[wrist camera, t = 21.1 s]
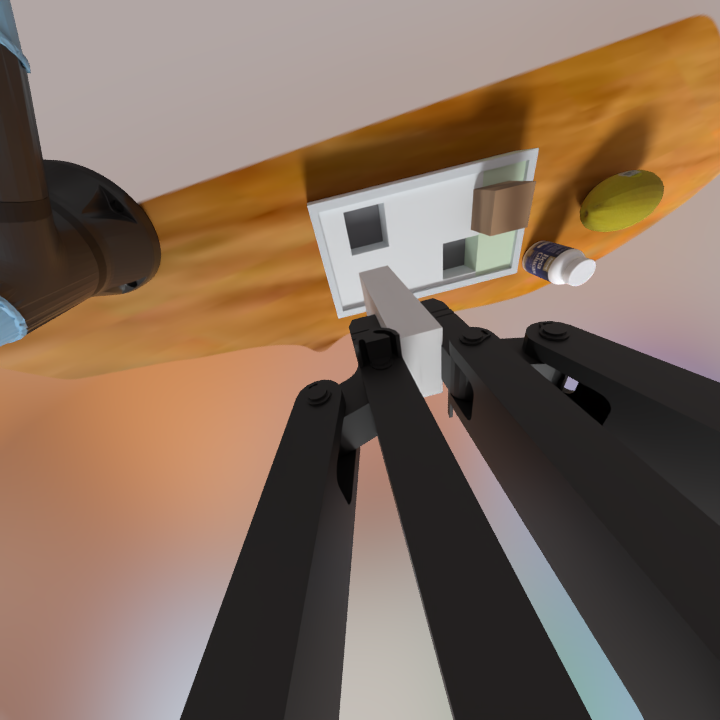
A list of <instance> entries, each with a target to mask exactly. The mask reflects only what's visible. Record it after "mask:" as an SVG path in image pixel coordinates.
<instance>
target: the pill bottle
mask: <svg viewBox="0 0 720 720" xmlns="http://www.w3.org/2000/svg"><path fill="white" fill-rule="evenodd" d="M522 265H523V268H524V270H525V271H527V272H529V273H531V274H534V275H536V276H538V277H540V278H543V279H545V280H547V281H549V282H552V283H554V284H565V283H567V284H569V285H571V286H578V285H581V284H583V283H585V282H586V281H587V280H588V279H589V278H590V277H591V276H592V274H593V273H594V271H595V268H596V263H595V261H594V260H592V259H589V258H586V257H585V255H584V253H583V252H582V251H580V250H577V249H574V248H571V247H567V246H563V245H560V244H556V243H553V242H549V241H539V242H537V243H535V244H533V245H532V246H531V247H530V248H529V249H528V250H527V251H526V253H525V255H524V257H523V261H522Z"/></svg>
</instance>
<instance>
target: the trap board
mask: <svg viewBox="0 0 720 720" xmlns="http://www.w3.org/2000/svg"><path fill="white" fill-rule="evenodd" d="M538 150H539V148H534V149H526V150H518V151H512V152H508V153H504V154H500V155H496V156H493V157H489V158H485V159H481V160H477V161H473V162H469V163H465V164H461V165H457V166H453V167H449V168H445V169H441V170H437V171H433V172H429V173H425V174H421V175H417V176H413V177H409V178H405V179H401V180H397V181H393V182H389V183H385V184H381V185H377V186H373V187H369V188H365V189H361V190H357V191H353V192H349V193H345V194H341V195H337V196H333V197H329V198H325V199H321V200H317V201H313V202H309V203H307V207H308V211H309V214H310V218H311V221H312V225H313V228H314V232H315V236H316V239H317V243H318V246H319V250H320V254H321V257H322V261H323V264H324V268H325V272H326V275H327V279H328V282H329V286H330V289H331V293H332V297H333V300H334V304H335V307H336V311H337V315H338V318H343V317H347V316H351V315H355V314H358V313H362V312H366V307H365V302H364V297H363V292H362V287H361V282H360V277H359V273H360V272H364V271H368V270H372V269H376V268H379V267H383V266H387V265H388V266H389V268H390V269H391V270H392V271H393V272H394V273H395V274H396V276H397V277H398V278H399V279H400V280H401V281H402V282H403V283H404V285H405V286H406V287H407V288H408V289H409V290H410V291H411V292H412V294H413V295H414V296H415V297H416V298H421V297H425V296H429V295H432V294H436V293H440V292H444V291H448V290H452V289H456V288H460V287H464V286H467V285H471V284H475V283H479V282H483V281H487V280H491V279H495V278H499V277H503V276H506V275H510V274H514V273H517V268H518V262H519V257H520V251H521V245H522V240H523V234H524V229H525V228H522V229H518V230H514V231H510V232H506V233H502V234H498V235H494V236H488V235H485V234H482V233H479V232H476V231H473V230H471V219H472V204H473V189H477V188H481V187H485V186H489V185H493V184H497V183H501V182H506V181H533V178H534V172H535V167H536V161H537V155H538Z"/></svg>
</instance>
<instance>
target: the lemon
mask: <svg viewBox="0 0 720 720" xmlns="http://www.w3.org/2000/svg"><path fill="white" fill-rule="evenodd" d="M663 191H664V186H663V182H662V181H661V179H660V178H659V177H658V176H657V175H655V174H654V173H652V172H649V171H645V170H630V171H626V172H622V173H619V174H616V175H613V176H611V177H609V178H607V179H605V180H604V181H602V182H601V183H599V184H598V185H597V186H596V187H595V188H594V189H593V190H592V191H591V192H590V193H589V194H588V195H587V197H586V198H585V200H584V201H583V203H582V206H581V209H580V219H581V222H582V224H583V225H584V226H585V227H586V228H588V229H590V230H593V231H599V232H610V231H617V230H621V229H624V228H627V227H630V226H632V225H634V224H636V223H638V222H640V221H641V220H643V219H644V218H646V217H647V216H648V215H650V214H651V213H652V212H653V210H654V209H655V208H656V207H657V206H658V204H659V202H660V201H661V199H662V196H663Z"/></svg>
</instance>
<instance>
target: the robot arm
mask: <svg viewBox="0 0 720 720" xmlns="http://www.w3.org/2000/svg"><path fill="white" fill-rule="evenodd" d="M27 73H31V72H30V65H29V63H28V60H27V59H26V57H25V56H24V55H23V53H22V50H21V45H20V41H19V38H18V33H17V29H16V24H15V20H14V15H13V12H12V7H11V3H10V0H0V346H2V345H4V344H6V343H11V342H15V341H16V340H20V339H21V338H23V337H24V336H25V335H26V334H28V333H30V332H32V331H33V330H35V329H37V328H38V327H40V326H42V325H44V324H45V323H47V322H49V321H50V320H52V319H54V318H56V317H57V316H59V315H61V314H62V313H64V312H66V311H68V310H69V309H71V308H73V307H74V306H76V305H78V304H80V303H81V302H83V301H85V300H86V299H88V298H90V297H94V296H106V295H118V294H124V293H128V292H131V291H134V290H136V289H138V288H139V287H141V286H143V285H144V284H146V283H147V282H149V281H150V280H151V279H152V278H153V277H154V275H155V274H156V272H157V270H158V268H159V265H160V259H161V250H160V244H159V240H158V237H157V234H156V232H155V230H154V227H153V225H152V224H151V222H150V220H149V219H148V217H147V216H146V214H145V213H144V211H143V210H142V209H141V208H140V206H139V205H138V204H137V203H136V202H135V201H134V200H133V199H132V198H131V197H130V196H129V195H128V194H127V193H126V192H125V191H124V190H122V189H121V188H120V187H119V186H117V185H116V184H115V183H113V182H112V181H110V180H109V179H107V178H106V177H104V176H102V175H100V174H99V173H96V172H95V171H93V170H90V169H88V168H86V167H83V166H80V165H77V164H74V163H70V162H65V161H58V160H43V158H42V152H41V146H40V141H39V136H38V130H37V125H36V119H35V114H34V108H33V103H32V97H31V92H30V86H29V82H28V76H27ZM359 277H360V282H361V287H362V292H363V297H364V302H365V307H366V312H367V316H366V317H362V318H358V319H354V320H352V321H351V324H350V326H349V330H350V333H351V337H352V341H353V345H354V348H355V353H356V357H357V360H358V368H357V371H356V372H355V374H354V375H353V376H352V377H350V378H349V379H348V380H346V381H344V382H342V383H341V384H339V385H338V383H336V382H334V381H331V380H320V381H316V382H314V383H311V384H309V385H307V386H306V387H305V388H304V389H302V390H301V391H300V393H299V395H298V396H297V398H296V401H295V403H294V406H293V409H292V411H291V414H290V417H289V420H288V423H287V425H286V428H285V431H284V434H283V436H282V439H281V442H280V445H279V448H278V450H277V453H276V456H275V458H274V461H273V464H272V467H271V470H270V472H269V475H268V478H267V480H266V483H265V486H264V489H263V491H262V494H261V497H260V500H259V502H258V505H257V508H256V511H255V514H254V517H253V519H252V522H251V525H250V527H249V530H248V533H247V536H246V539H245V541H244V544H243V547H242V549H241V552H240V555H239V558H238V560H237V564H236V566H235V569H234V571H233V574H232V577H231V580H230V583H229V585H228V588H227V591H226V594H225V597H224V599H223V602H222V605H221V607H220V610H219V613H218V616H217V618H216V621H215V624H214V627H213V630H212V632H211V635H210V638H209V640H208V643H207V646H206V649H205V652H204V654H203V657H202V660H201V663H200V665H199V668H198V671H197V674H196V676H195V679H194V682H193V685H192V688H191V690H190V693H189V696H188V698H187V701H186V704H185V707H184V710H183V712H182V715H181V718H180V720H339V710H340V698H341V684H342V672H343V659H344V647H345V634H346V622H347V608H348V596H349V584H350V571H351V559H352V546H353V533H354V521H355V507H356V495H357V482H358V469H359V457H360V446H362V445H363V444H365V443H366V442H368V441H370V440H371V439H373V438H374V437H376V436H378V440H379V444H380V447H381V451H382V455H383V459H384V462H385V466H386V470H387V473H388V477H389V481H390V485H391V488H392V492H393V496H394V500H395V503H396V507H397V511H398V515H399V518H400V522H401V526H402V530H403V533H404V537H405V541H406V545H407V548H408V552H409V556H410V560H411V563H412V567H413V571H414V574H415V578H416V582H417V586H418V589H419V593H420V597H421V601H422V604H423V608H424V612H425V616H426V619H427V623H428V627H429V631H430V634H431V637H432V641H433V645H434V649H435V653H436V656H437V660H438V664H439V668H440V672H441V675H442V679H443V683H444V687H445V690H446V694H447V698H448V702H449V705H450V709H451V712H452V716H453V720H592V719H591V717H590V715H589V713H588V711H587V710H586V707H585V705H584V704H583V702H582V700H581V698H580V696H579V694H578V692H577V690H576V688H575V687H574V684H573V683H572V681H571V679H570V677H569V675H568V673H567V671H566V669H565V667H564V665H563V663H562V662H561V660H560V658H559V656H558V654H557V652H556V650H555V648H554V646H553V644H552V642H551V641H550V639H549V637H548V635H547V633H546V631H545V629H544V627H543V625H542V623H541V622H540V619H539V618H538V616H537V614H536V612H535V610H534V608H533V606H532V604H531V602H530V600H529V598H528V597H527V595H526V593H525V591H524V589H523V587H522V585H521V583H520V581H519V579H518V577H517V575H516V574H515V572H514V570H513V568H512V566H511V564H510V562H509V560H508V559H507V557H506V554H505V553H504V551H503V549H502V547H501V545H500V543H499V541H498V539H497V537H496V535H495V533H494V532H493V530H492V528H491V526H490V524H489V522H488V520H487V518H486V516H485V514H484V512H483V510H482V509H481V507H480V505H479V503H478V501H477V499H476V497H475V495H474V493H473V491H472V489H471V488H470V486H469V484H468V482H467V480H466V478H465V476H464V474H463V472H462V470H461V468H460V466H459V465H458V463H457V461H456V459H455V457H454V455H453V453H452V451H451V449H450V447H449V445H448V444H447V442H446V440H445V438H444V436H443V434H442V432H441V430H440V428H439V426H438V425H437V423H436V421H435V419H434V417H433V415H432V413H431V411H430V409H429V407H428V405H427V403H426V402H425V400H424V398H423V397H426V396H430V395H434V394H438V393H442V392H443V391H442V390H443V386H442V385H443V382H444V383H445V385H446V387H447V388H448V414H449V417H452V416H453V409H454V411H455V412H456V414H457V416H458V417H459V419H460V420H461V422H462V424H463V425H464V427H465V428H466V430H467V432H468V433H469V435H470V437H471V438H472V440H473V441H474V443H475V445H476V446H477V448H478V449H479V451H480V453H481V454H482V456H483V458H484V459H485V461H486V462H487V464H488V466H489V467H490V469H491V470H492V472H493V474H494V475H495V477H496V479H497V480H498V482H499V483H500V485H501V487H502V488H503V490H504V492H505V493H506V495H507V496H508V498H509V500H510V501H511V503H512V504H513V506H514V508H515V509H516V511H517V513H518V514H519V516H520V517H521V519H522V521H523V522H524V524H525V526H526V527H527V529H528V530H529V532H530V534H531V535H532V537H533V538H534V540H535V542H536V543H537V545H538V547H539V548H540V550H541V551H542V553H543V555H544V556H545V558H546V559H547V561H548V563H549V564H550V566H551V568H552V569H553V571H554V572H555V574H556V576H557V577H558V579H559V581H560V582H561V584H562V585H563V587H564V588H565V590H566V592H567V593H568V595H569V596H570V598H571V600H572V602H573V603H574V605H575V606H576V608H577V610H578V611H579V613H580V615H581V616H582V618H583V619H584V621H585V623H586V624H587V626H588V627H589V629H590V631H591V632H592V634H593V636H594V637H595V639H596V640H597V642H598V644H599V645H600V647H601V648H602V650H603V652H604V653H605V655H606V657H607V658H608V660H609V661H610V663H611V665H612V666H613V668H614V670H615V671H616V673H617V674H618V676H619V678H620V679H621V680H622V682H623V684H624V686H625V687H626V689H627V691H628V692H629V694H630V695H631V697H632V699H633V700H634V702H635V704H636V705H637V707H638V709H639V711H640V712H641V714H642V716H643V718H644V720H720V383H719V382H717V381H714V380H711V379H709V378H706V377H704V376H701V375H698V374H696V373H693V372H691V371H688V370H685V369H683V368H680V367H677V366H675V365H672V364H670V363H667V362H665V361H662V360H659V359H657V358H654V357H652V356H649V355H647V354H644V353H641V352H639V351H636V350H634V349H631V348H628V347H626V346H623V345H621V344H618V343H615V342H613V341H610V340H608V339H605V338H602V337H600V336H597V335H595V334H592V333H589V332H587V331H584V330H582V329H579V328H577V327H574V326H571V325H568V324H564V323H561V322H553V321H547V322H546V321H545V322H538V323H534V324H532V325H530V326H529V327H528V328H527V329H526V333H525V337H524V338H508V339H500V338H499V337H497V336H496V335H495V334H494V333H492V332H491V331H489V330H487V329H483V328H479V327H469V326H468V325H467V324H466V323H465V322H464V321H463V320H462V319H461V318H459V317H458V316H457V315H456V314H454V312H453V311H452V310H451V309H449V307H448V306H447V305H446V304H445V303H443V302H442V301H439V300H436V299H433V298H432V299H428V300H424V301H421V302H420V301H419V300H418V299H417V298H416V297H415V296H414V295H413V294H412V292H411V291H410V290H409V289H408V288H407V287H406V286H405V285H404V283H403V282H402V281H401V280H400V279H399V278H398V277H397V276H396V274H395V273H394V272H393V271H392V270H391V269H390V268H389V266H388V265H387V266H383V267H379V268H376V269H372V270H368V271H364V272H360V273H359ZM568 376H569V377H571V378H573V379H574V380H576V381H578V382H579V383H578V385H577V387H576V390H575V391H573V390H572V391H571V390H568V389H566V388H564V385H565V383H566V380H567V378H568Z"/></svg>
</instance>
